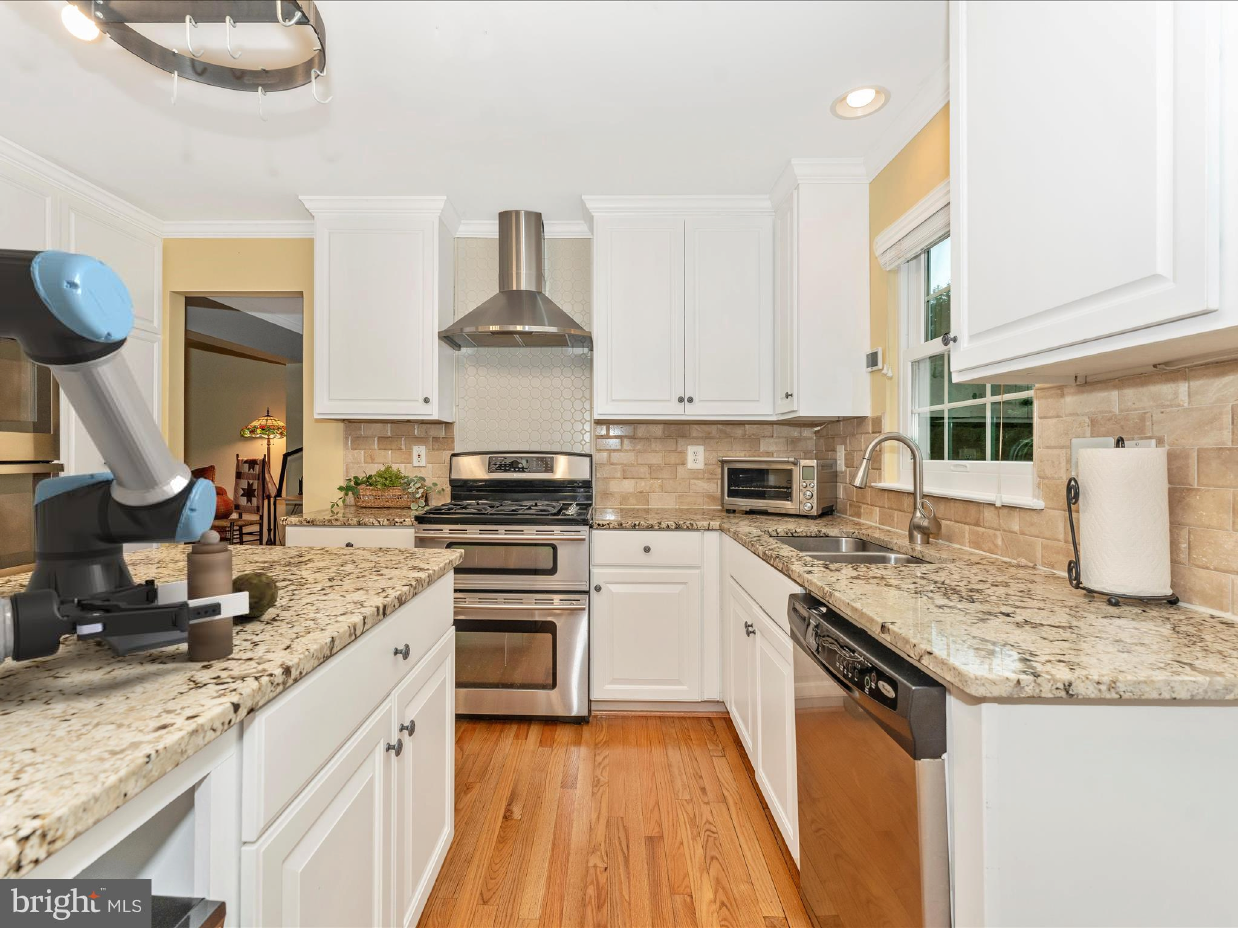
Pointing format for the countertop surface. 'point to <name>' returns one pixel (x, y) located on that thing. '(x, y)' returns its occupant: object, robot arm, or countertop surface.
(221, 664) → the countertop surface
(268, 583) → the potato
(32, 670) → the countertop surface
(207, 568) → the pepper mill
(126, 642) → the tub
